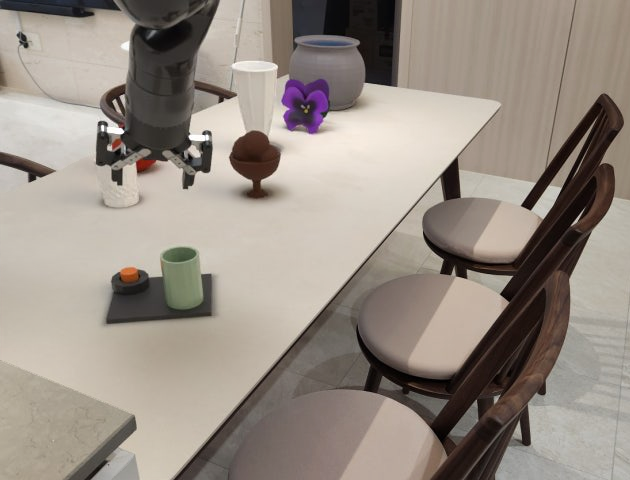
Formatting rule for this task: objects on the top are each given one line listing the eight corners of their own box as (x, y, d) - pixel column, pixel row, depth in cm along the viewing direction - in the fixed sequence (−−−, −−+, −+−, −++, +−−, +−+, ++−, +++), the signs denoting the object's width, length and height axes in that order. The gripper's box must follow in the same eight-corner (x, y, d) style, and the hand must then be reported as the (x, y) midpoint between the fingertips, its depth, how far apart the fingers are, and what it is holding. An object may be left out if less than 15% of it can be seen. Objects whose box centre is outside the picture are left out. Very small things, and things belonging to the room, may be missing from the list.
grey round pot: (310, 90, 224) (310, 31, 214) (375, 100, 216) (378, 39, 206) (274, 106, 204) (272, 41, 194) (345, 117, 196) (346, 50, 186)
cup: (267, 141, 173) (264, 59, 162) (288, 153, 165) (286, 67, 154) (228, 148, 166) (222, 62, 156) (248, 161, 159) (243, 72, 148)
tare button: (120, 283, 100) (119, 275, 99) (122, 275, 102) (121, 267, 101) (137, 282, 100) (136, 274, 99) (139, 274, 102) (138, 266, 102)
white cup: (111, 214, 128) (103, 167, 123) (95, 202, 133) (87, 156, 128) (148, 205, 133) (142, 159, 128) (132, 193, 137) (125, 149, 132)
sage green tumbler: (165, 311, 96) (158, 264, 92) (167, 292, 100) (161, 247, 96) (203, 308, 97) (198, 262, 93) (204, 289, 101) (199, 245, 97)
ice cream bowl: (292, 195, 141) (291, 128, 133) (258, 210, 133) (254, 140, 125) (256, 183, 146) (253, 118, 138) (221, 198, 137) (216, 130, 130)
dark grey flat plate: (105, 327, 94) (102, 310, 92) (116, 286, 104) (113, 270, 103) (211, 319, 97) (210, 302, 95) (212, 279, 107) (210, 264, 106)
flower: (291, 137, 194) (273, 126, 181) (300, 88, 193) (283, 74, 180) (336, 143, 190) (321, 133, 177) (345, 93, 189) (331, 79, 176)
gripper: (219, 84, 79) (204, 164, 92) (94, 68, 73) (97, 156, 87) (223, 131, 75) (207, 207, 89) (92, 119, 70) (96, 202, 83)
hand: (152, 182), depth 88 cm, fingers open, 8 cm apart
